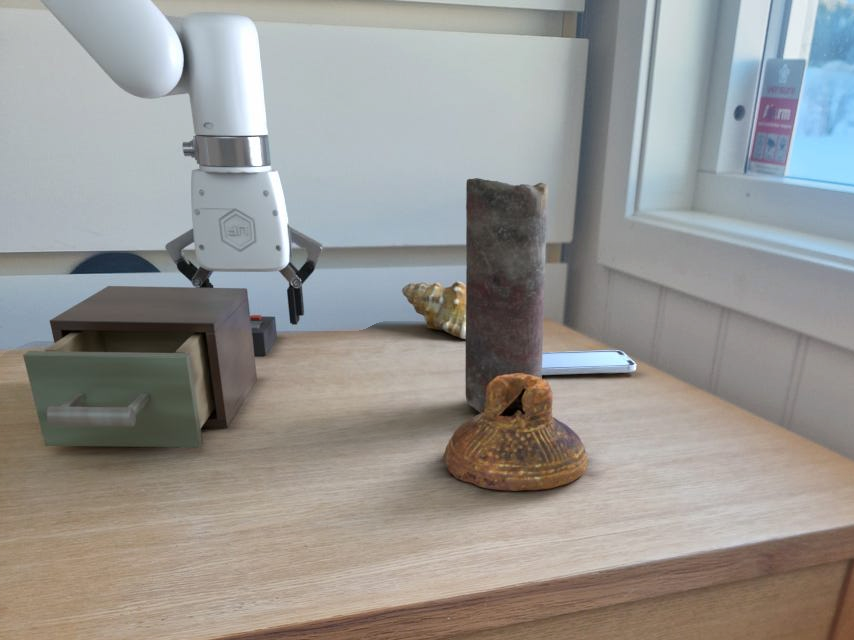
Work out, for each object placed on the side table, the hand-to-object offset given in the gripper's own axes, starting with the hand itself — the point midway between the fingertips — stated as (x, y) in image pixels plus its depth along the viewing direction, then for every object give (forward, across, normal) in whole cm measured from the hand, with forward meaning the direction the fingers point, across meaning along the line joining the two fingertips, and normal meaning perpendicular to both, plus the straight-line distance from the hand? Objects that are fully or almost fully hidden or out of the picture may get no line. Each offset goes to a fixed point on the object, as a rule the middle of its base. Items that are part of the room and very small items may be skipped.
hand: (253, 321), depth 103 cm
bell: (+3, +28, -39) cm, 48 cm away
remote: (+3, 0, 0) cm, 3 cm away
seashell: (+3, +23, +9) cm, 25 cm away
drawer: (+2, -4, -33) cm, 34 cm away
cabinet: (+3, -4, -22) cm, 23 cm away
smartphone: (+3, +36, -8) cm, 37 cm away
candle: (+3, +28, -23) cm, 36 cm away
